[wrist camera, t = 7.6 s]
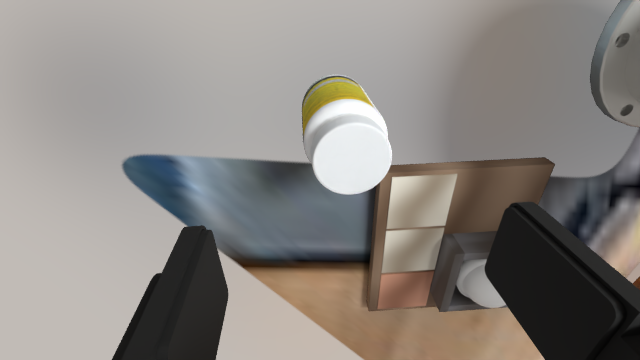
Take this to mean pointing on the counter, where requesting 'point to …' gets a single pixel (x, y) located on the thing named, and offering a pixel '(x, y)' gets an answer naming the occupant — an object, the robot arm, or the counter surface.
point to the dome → (478, 284)
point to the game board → (441, 226)
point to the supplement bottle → (344, 136)
